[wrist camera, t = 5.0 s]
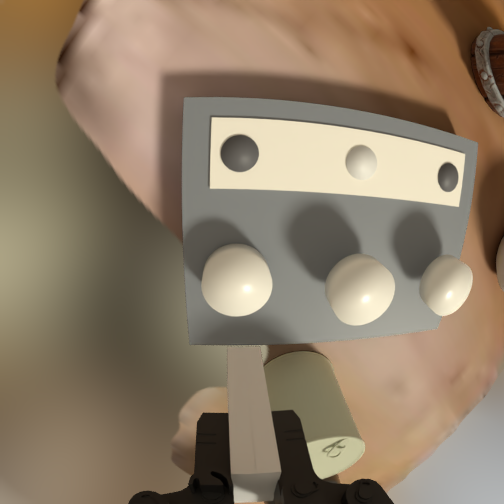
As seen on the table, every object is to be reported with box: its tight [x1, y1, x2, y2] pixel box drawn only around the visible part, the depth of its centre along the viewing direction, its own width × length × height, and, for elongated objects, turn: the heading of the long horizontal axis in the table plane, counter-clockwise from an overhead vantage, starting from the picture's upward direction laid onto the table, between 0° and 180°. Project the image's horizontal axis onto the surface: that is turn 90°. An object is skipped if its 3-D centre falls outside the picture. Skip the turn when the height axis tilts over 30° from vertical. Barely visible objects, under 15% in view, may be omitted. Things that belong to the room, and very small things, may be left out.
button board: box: [182, 97, 478, 345], centre depth 24 cm, size 20×26×3 cm
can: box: [264, 351, 365, 479], centre depth 26 cm, size 9×9×12 cm
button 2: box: [201, 243, 272, 317], centre depth 22 cm, size 5×5×2 cm
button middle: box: [325, 254, 395, 326], centre depth 21 cm, size 5×5×2 cm
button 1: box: [419, 255, 473, 316], centre depth 22 cm, size 5×5×2 cm
